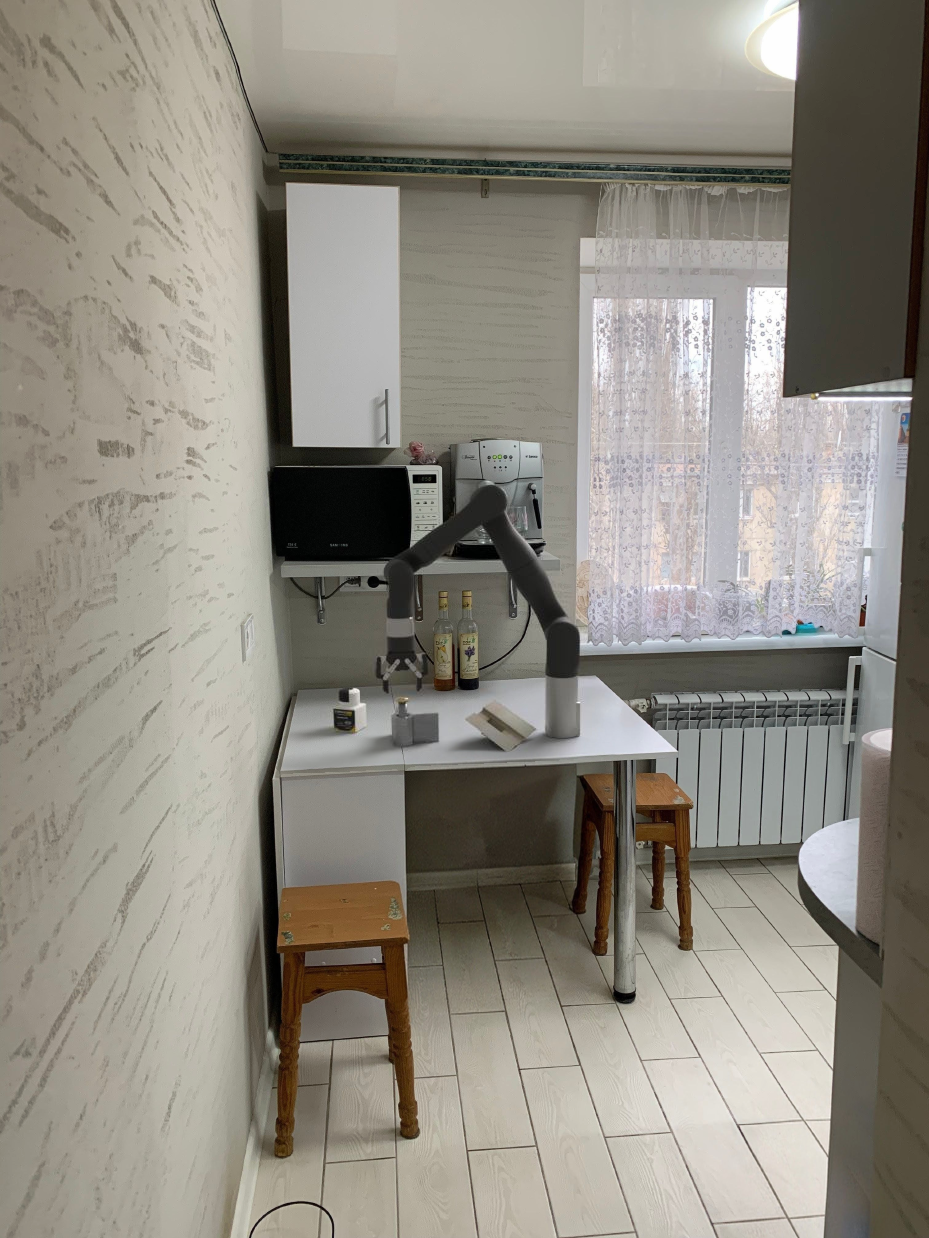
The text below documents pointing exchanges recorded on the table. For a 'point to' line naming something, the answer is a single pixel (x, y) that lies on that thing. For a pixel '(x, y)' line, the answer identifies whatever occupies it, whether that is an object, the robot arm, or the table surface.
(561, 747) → the table surface
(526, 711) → the table surface
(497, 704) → the beige folded piece
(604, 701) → the table surface
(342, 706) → the medicine bottle
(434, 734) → the hinge
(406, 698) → the pin
